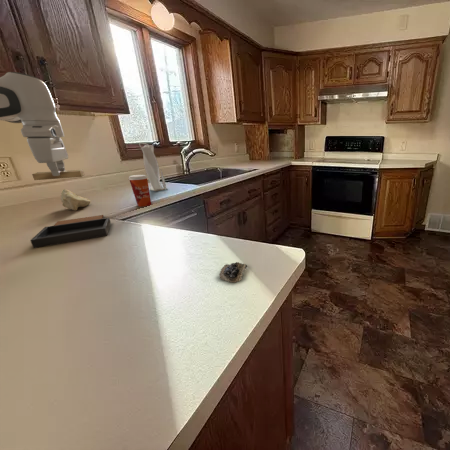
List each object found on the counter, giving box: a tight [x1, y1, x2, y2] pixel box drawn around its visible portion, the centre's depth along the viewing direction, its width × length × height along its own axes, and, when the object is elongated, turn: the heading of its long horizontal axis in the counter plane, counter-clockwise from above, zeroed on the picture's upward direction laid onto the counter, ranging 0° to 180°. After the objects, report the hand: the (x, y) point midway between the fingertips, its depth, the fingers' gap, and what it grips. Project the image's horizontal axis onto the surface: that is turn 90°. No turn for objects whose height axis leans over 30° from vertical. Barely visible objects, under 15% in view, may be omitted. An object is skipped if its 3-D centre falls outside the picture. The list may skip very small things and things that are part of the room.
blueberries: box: [218, 261, 248, 284], centre depth 56 cm, size 7×8×2 cm
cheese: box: [60, 188, 91, 211], centre depth 112 cm, size 15×7×15 cm
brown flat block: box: [53, 214, 104, 226], centre depth 94 cm, size 14×10×1 cm
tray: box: [30, 217, 112, 249], centre depth 82 cm, size 18×14×3 cm
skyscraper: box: [138, 142, 168, 193], centre depth 147 cm, size 8×8×28 cm
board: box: [31, 169, 85, 181], centre depth 84 cm, size 12×5×2 cm, turn 121°
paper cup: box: [128, 174, 152, 207], centre depth 115 cm, size 8×8×14 cm
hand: (59, 174), depth 84 cm, fingers closed on board, 5 cm apart
